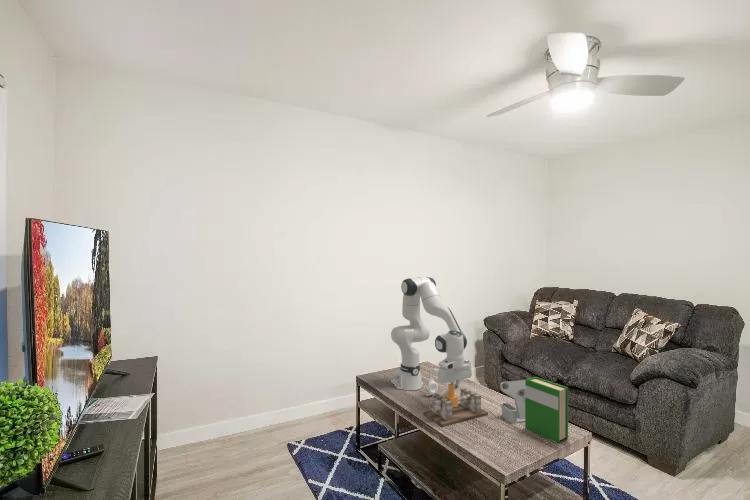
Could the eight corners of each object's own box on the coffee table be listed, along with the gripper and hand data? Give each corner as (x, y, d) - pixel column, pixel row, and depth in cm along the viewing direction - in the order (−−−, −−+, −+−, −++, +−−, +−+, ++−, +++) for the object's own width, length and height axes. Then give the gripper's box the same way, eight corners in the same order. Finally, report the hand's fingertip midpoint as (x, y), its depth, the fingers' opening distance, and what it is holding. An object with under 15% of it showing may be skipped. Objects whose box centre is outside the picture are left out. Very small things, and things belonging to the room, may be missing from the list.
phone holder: (510, 423, 196) (510, 388, 195) (499, 415, 206) (499, 381, 205) (540, 420, 200) (540, 385, 200) (528, 411, 210) (528, 378, 210)
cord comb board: (423, 414, 206) (423, 394, 206) (467, 404, 220) (467, 385, 220) (442, 427, 192) (442, 405, 192) (488, 414, 206) (488, 395, 206)
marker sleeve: (444, 404, 206) (444, 384, 206) (452, 402, 208) (452, 382, 208) (450, 407, 201) (450, 387, 201) (458, 406, 204) (458, 385, 204)
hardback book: (568, 439, 180) (568, 387, 180) (558, 443, 176) (558, 390, 176) (535, 424, 195) (535, 376, 195) (525, 427, 191) (525, 379, 191)
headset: (453, 407, 216) (453, 375, 216) (441, 408, 214) (441, 376, 214) (435, 394, 235) (435, 364, 235) (425, 395, 233) (425, 365, 232)
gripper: (466, 358, 213) (466, 383, 213) (436, 363, 204) (436, 389, 204) (474, 361, 208) (474, 387, 208) (443, 366, 198) (443, 393, 198)
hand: (455, 388), depth 206 cm, fingers closed
